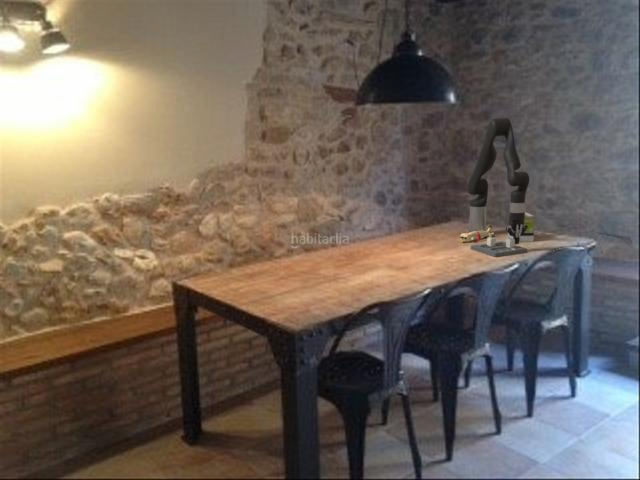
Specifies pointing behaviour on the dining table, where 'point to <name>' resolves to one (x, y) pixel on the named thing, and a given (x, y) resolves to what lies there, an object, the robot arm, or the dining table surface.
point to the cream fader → (491, 241)
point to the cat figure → (476, 235)
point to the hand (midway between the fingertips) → (516, 243)
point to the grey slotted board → (498, 249)
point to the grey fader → (510, 243)
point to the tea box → (529, 232)
